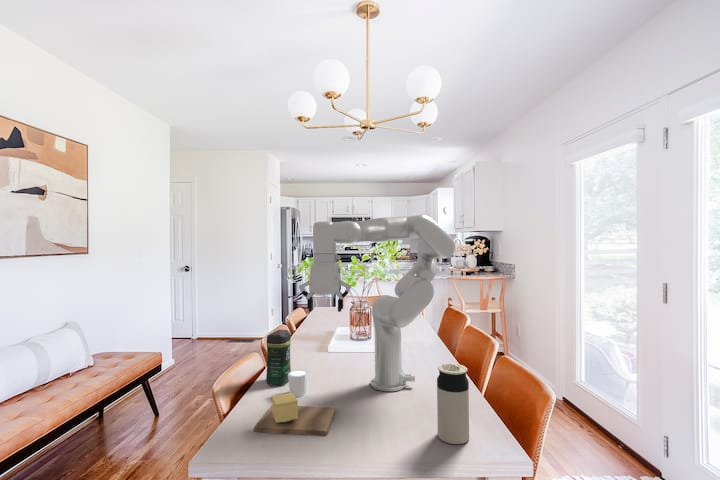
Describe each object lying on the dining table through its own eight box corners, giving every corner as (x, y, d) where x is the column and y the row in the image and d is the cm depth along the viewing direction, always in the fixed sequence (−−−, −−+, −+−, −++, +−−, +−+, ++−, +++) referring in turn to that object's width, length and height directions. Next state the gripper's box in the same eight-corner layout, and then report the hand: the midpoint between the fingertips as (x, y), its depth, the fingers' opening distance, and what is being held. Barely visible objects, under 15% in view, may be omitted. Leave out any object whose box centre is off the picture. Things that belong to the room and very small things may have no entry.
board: (336, 411, 113) (335, 407, 113) (326, 435, 99) (326, 430, 99) (271, 408, 115) (271, 404, 115) (253, 431, 101) (253, 427, 101)
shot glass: (291, 399, 122) (291, 377, 122) (285, 392, 128) (285, 371, 128) (311, 395, 125) (311, 374, 125) (304, 388, 131) (304, 368, 131)
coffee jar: (284, 387, 132) (284, 334, 132) (263, 386, 133) (263, 333, 133) (293, 377, 142) (293, 328, 142) (274, 376, 143) (273, 327, 143)
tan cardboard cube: (272, 413, 107) (271, 396, 107) (292, 409, 109) (292, 392, 109) (275, 422, 101) (275, 404, 101) (297, 418, 104) (297, 400, 104)
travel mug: (442, 446, 93) (441, 373, 93) (434, 430, 101) (433, 363, 101) (473, 444, 94) (472, 372, 94) (463, 428, 101) (462, 362, 102)
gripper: (352, 258, 126) (352, 309, 126) (302, 258, 128) (302, 308, 128) (349, 259, 119) (349, 313, 119) (296, 259, 121) (296, 312, 121)
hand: (325, 310), depth 123 cm, fingers open, 9 cm apart
